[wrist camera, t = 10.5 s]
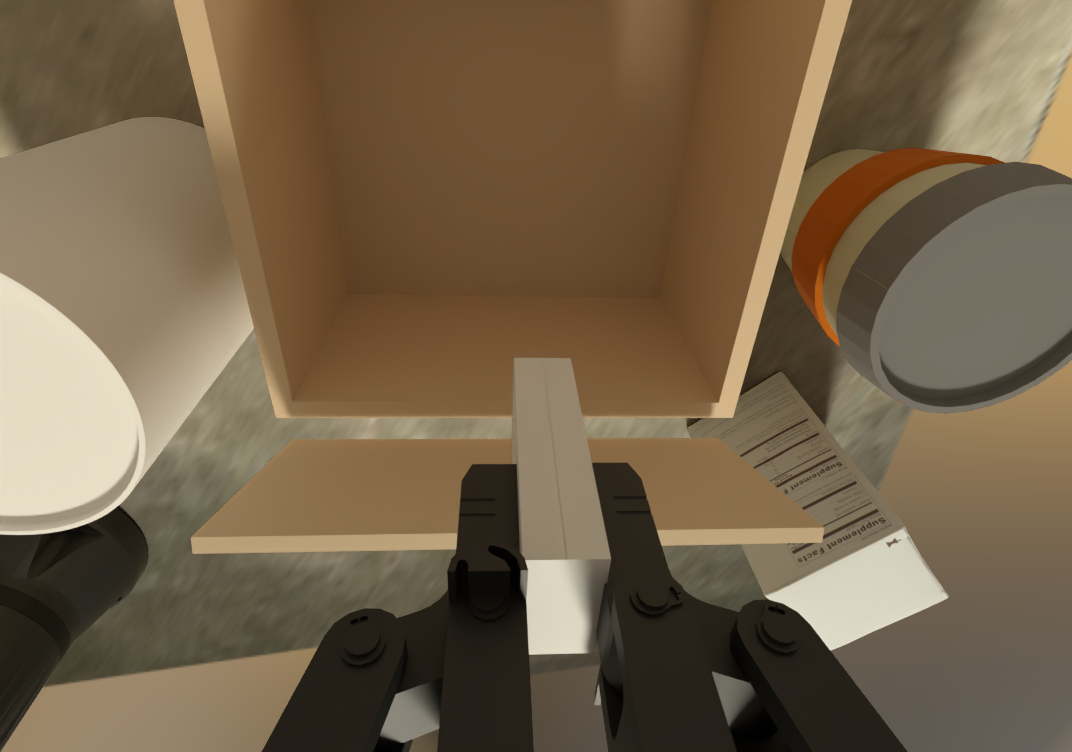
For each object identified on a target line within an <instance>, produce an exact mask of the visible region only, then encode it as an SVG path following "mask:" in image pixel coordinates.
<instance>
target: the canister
mask: <svg viewBox="0 0 1072 752" xmlns="http://www.w3.org/2000/svg"><path fill="white" fill-rule="evenodd" d="M253 329H254V326H253V322H252V318H251V314H250V310H249V306H248V302H247V298H246V294H245V290H244V285H243V281H242V277H241V273H240V269H239V265H238V261H237V257H236V253H235V249H234V245H233V241H232V237H231V233H230V228H229V224H228V220H227V216H226V212H225V208H224V204H223V200H222V196H221V192H220V188H219V184H218V180H217V176H216V172H215V167H214V163H213V159H212V155H211V151H210V147H209V143H208V139H207V135H206V131H205V128H203V127H200V126H197V125H195V124H192V123H189V122H185V121H181V120H177V119H171V118H164V117H139V118H133V119H128V120H124V121H121V122H118V123H114V124H111V125H108V126H104V127H101V128H98V129H95V130H91V131H88V132H85V133H81V134H78V135H75V136H72V137H68V138H65V139H62V140H59V141H55V142H52V143H49V144H45V145H42V146H39V147H36V148H32V149H29V150H26V151H22V152H19V153H16V154H13V155H9V156H6V157H3V158H0V534H2V535H34V534H45V533H53V532H59V531H64V530H68V529H72V528H76V527H79V526H82V525H85V524H88V523H90V522H93V521H95V520H97V519H99V518H101V517H103V516H104V515H106V514H108V513H109V512H111V511H112V510H114V509H115V508H116V507H117V506H119V505H120V504H121V503H122V502H123V501H124V500H125V499H126V498H127V497H128V495H129V494H130V493H131V492H132V490H133V489H134V488H135V486H136V485H137V484H138V482H139V481H140V480H141V478H142V477H143V476H144V474H145V473H146V472H147V470H148V469H149V468H150V466H151V465H152V464H153V462H154V461H155V460H156V458H157V457H158V456H159V454H160V453H161V452H162V450H163V449H164V447H165V446H166V445H167V443H168V442H169V441H170V439H171V438H172V437H173V435H174V434H175V433H176V431H177V430H178V429H179V427H180V426H181V425H182V423H183V422H184V421H185V419H186V418H187V417H188V415H189V414H190V413H191V411H192V410H193V409H194V407H195V406H196V405H197V403H198V402H199V401H200V399H201V398H202V397H203V395H204V394H205V393H206V391H207V390H208V389H209V387H210V386H211V385H212V383H213V382H214V381H215V379H216V378H217V377H218V375H219V374H220V373H221V371H222V370H223V369H224V367H225V366H226V365H227V363H228V362H229V361H230V359H231V358H232V357H233V355H234V354H235V353H236V351H237V350H238V349H239V347H240V346H241V345H242V343H243V342H244V341H245V339H246V338H247V337H248V335H249V334H250V333H251V331H252V330H253Z"/></svg>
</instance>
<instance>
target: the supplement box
mask: <svg viewBox="0 0 1072 752" xmlns="http://www.w3.org/2000/svg"><path fill="white" fill-rule="evenodd" d="M687 430H688V432H689V435H690V437H691V438H719V439H720V440H721V441H722V442H724V443H725V444H726V445H727V446H728V447H730V448H731V449H732V450H733V451H734V452H736V453H737V454H738V455H739V456H740V457H741V458H743V459H744V460H745V461H746V462H747V463H749V464H750V465H751V466H752V467H753V468H754V469H756V470H757V471H758V472H759V473H760V474H762V475H763V476H764V477H765V478H766V479H767V480H769V481H770V482H771V483H772V484H773V485H775V486H776V487H777V488H778V489H779V490H781V491H782V492H783V493H784V494H785V495H786V496H788V497H789V498H790V499H791V500H792V501H794V502H795V503H796V504H797V505H798V506H799V507H801V508H802V509H803V510H804V511H805V512H807V513H808V514H809V515H810V516H811V517H812V518H814V519H815V520H816V521H817V522H818V523H820V524H821V525H822V526H823V527H824V534H823V541H822V543H775V544H741V546H742V548H743V550H744V553H745V555H746V557H747V559H748V561H749V563H750V566H751V568H752V570H753V572H754V574H755V576H756V579H757V581H758V583H759V585H760V587H761V589H762V591H763V594H764V595H765V596H766V597H767V598H768V599H769V600H771V601H775V602H779V603H783V604H785V605H786V606H788V607H790V608H792V609H793V610H795V611H797V612H798V613H799V614H800V615H801V616H802V617H803V618H804V619H805V620H806V621H807V622H808V623H809V624H810V625H811V626H812V627H813V629H814V630H815V631H816V633H817V634H818V635H819V637H820V638H821V639H822V641H823V642H824V643H825V644H826V646H827V647H828V648H829V650H833V649H836V648H838V647H841V646H843V645H845V644H848V643H849V642H852V641H854V640H856V639H858V638H860V637H862V636H864V635H866V634H869V633H871V632H873V631H876V630H878V629H880V628H882V627H885V626H887V625H889V624H892V623H894V622H896V621H898V620H901V619H903V618H905V617H908V616H910V615H912V614H914V613H917V612H919V611H921V610H923V609H926V608H928V607H930V606H932V605H934V604H936V603H938V602H941V601H943V600H945V599H947V598H948V597H949V596H948V594H947V593H946V591H945V590H944V588H943V587H942V586H941V584H940V583H939V581H938V580H937V579H936V577H935V576H934V574H933V573H932V571H931V570H930V568H929V567H928V565H927V563H926V562H925V561H924V559H923V557H922V556H921V554H920V553H919V551H918V550H917V548H916V546H915V545H914V543H913V541H912V540H911V538H910V536H909V534H908V532H907V530H906V528H905V526H904V524H903V523H902V522H901V521H900V519H899V518H898V517H897V516H896V515H895V513H894V512H893V510H892V509H891V508H890V507H889V505H888V504H887V503H886V502H885V500H884V499H883V498H882V496H881V495H880V494H879V492H878V491H877V490H876V489H875V487H874V486H873V485H872V484H871V483H870V481H869V480H868V479H867V478H866V477H865V475H864V474H863V473H862V472H861V471H860V469H859V468H858V467H857V466H856V464H855V463H854V462H853V461H852V460H851V458H850V457H849V456H848V455H847V454H846V452H845V451H844V450H843V449H842V448H841V446H840V445H839V444H838V442H837V441H836V440H835V438H834V437H833V436H832V435H831V433H830V432H829V431H828V429H827V428H826V427H825V426H824V424H823V423H822V422H821V420H820V419H819V418H818V417H817V415H816V414H815V413H814V412H813V410H812V409H811V408H810V407H809V405H808V404H807V403H806V402H805V400H804V399H803V398H802V397H801V395H800V394H799V393H798V392H797V390H796V389H795V388H794V386H793V385H792V384H791V383H790V381H789V380H788V379H787V377H786V376H785V375H784V374H783V373H782V372H778V373H777V374H775V375H773V376H772V377H770V378H768V379H767V380H765V381H763V382H762V383H760V384H758V385H757V386H755V387H754V388H752V389H750V390H749V391H747V392H745V393H744V394H742V395H740V396H739V398H738V402H737V405H736V409H735V412H734V416H733V418H703V419H701V420H699V421H698V422H696V423H694V424H693V425H691V426H689V427H688V428H687Z"/></svg>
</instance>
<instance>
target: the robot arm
mask: <svg viewBox="0 0 1072 752" xmlns="http://www.w3.org/2000/svg"><path fill="white" fill-rule="evenodd" d="M147 562H148V548H147V544H146V541H145V539H144V537H143V535H142V533H141V532H140V530H139V529H138V528H137V526H136V525H135V524H134V523H133V522H132V521H131V520H130V519H129V518H128V517H127V516H126V515H125V514H124V513H123V512H121V511H120V510H119V509H117V508H115V509H114V510H112V511H111V512H109V513H108V514H106V515H104V516H103V517H101V518H99V519H97V520H95V521H93V522H90V523H88V524H85V525H82V526H79V527H76V528H72V529H68V530H64V531H59V532H53V533H45V534H34V535H2V534H0V752H1V750H2V749H3V747H4V746H5V744H6V743H7V741H8V740H9V738H10V737H11V735H12V733H13V732H14V731H15V729H16V727H17V726H18V724H19V723H20V721H21V720H22V718H23V717H24V715H25V714H26V712H27V711H28V709H29V707H30V706H31V705H32V703H33V702H34V700H35V698H36V697H37V695H38V694H39V692H40V691H41V689H42V688H43V686H44V685H45V683H46V682H47V680H48V679H49V677H50V676H51V674H52V672H53V671H54V669H55V668H56V666H57V665H58V663H59V662H60V660H61V659H62V657H63V656H64V654H65V653H66V651H67V650H68V648H69V647H70V645H71V644H72V643H73V641H74V640H75V639H76V638H78V637H79V636H80V635H81V634H82V633H83V632H84V631H85V630H87V629H88V628H89V627H90V626H91V625H92V624H93V623H94V622H95V621H96V620H97V619H98V618H99V617H101V616H102V615H103V614H104V613H105V612H106V611H107V610H108V609H109V608H111V607H112V606H114V605H116V604H117V603H119V602H120V601H121V600H122V599H124V598H125V597H126V596H127V595H128V594H129V592H130V591H131V590H132V589H133V587H134V586H135V584H136V583H137V581H138V579H139V578H140V576H141V575H142V573H143V571H144V570H145V568H146V565H147ZM447 573H448V591H447V592H446V593H445V594H444V595H443V596H442V598H441V599H440V600H438V601H437V602H435V603H434V604H433V605H431V606H430V607H427V608H425V609H423V610H420V611H418V612H415V613H412V614H409V615H406V616H403V617H399V618H396V617H395V616H394V615H393V614H391V613H389V612H386V611H384V610H382V609H362V610H358V611H355V612H352V613H349V614H347V615H346V616H344V617H343V618H341V619H340V620H339V621H337V622H336V623H334V625H333V626H332V627H331V628H330V630H329V631H328V632H327V634H326V635H325V636H324V638H323V640H322V642H321V643H320V645H319V647H318V649H317V651H316V653H315V654H314V656H313V658H312V660H311V662H310V664H309V666H308V667H307V669H306V671H305V673H304V675H303V677H302V678H301V681H300V682H299V684H298V686H297V688H296V690H295V691H294V693H293V695H292V697H291V699H290V701H289V702H288V705H287V706H286V708H285V710H284V712H283V713H282V715H281V717H280V719H279V721H278V723H277V725H276V726H275V728H274V730H273V732H272V734H271V736H270V737H269V739H268V741H267V743H266V745H265V747H264V749H263V750H262V752H409V750H410V747H411V744H412V741H413V739H414V738H416V737H419V736H421V735H424V734H426V733H429V732H431V731H434V730H436V729H439V737H438V749H437V752H534V749H533V729H532V710H531V709H532V708H531V688H530V667H529V654H569V653H595V649H596V643H597V641H598V647H599V654H600V660H601V664H600V669H599V674H598V680H597V685H596V691H595V704H594V705H600V702H601V704H602V711H603V718H604V725H605V732H606V739H607V746H608V752H907V751H906V749H905V748H904V747H903V745H902V744H901V743H900V741H899V740H898V739H897V737H896V736H895V735H894V734H893V732H892V731H891V730H890V728H889V727H888V726H887V724H886V723H885V722H884V720H883V719H882V718H881V716H880V715H879V714H878V713H877V711H876V710H875V709H874V707H873V706H872V705H871V703H870V702H869V701H868V699H867V698H866V697H865V696H864V694H863V693H862V692H861V690H860V689H859V688H858V687H857V685H856V684H855V683H854V681H853V680H852V679H851V677H850V676H849V675H848V673H847V672H846V671H845V670H844V668H843V667H842V666H841V664H840V663H839V661H838V660H837V659H836V658H835V656H834V655H833V654H832V652H831V651H830V650H829V648H828V647H827V646H826V644H825V643H824V642H823V641H822V639H821V638H820V637H819V635H818V634H817V633H816V631H815V630H814V629H813V627H812V626H811V625H810V624H809V623H808V622H807V621H806V620H805V619H804V618H803V617H802V616H801V615H800V614H799V613H798V612H797V611H795V610H793V609H792V608H790V607H788V606H786V605H785V604H783V603H779V602H775V601H771V600H754V601H752V602H750V603H748V604H746V605H744V606H743V607H742V609H741V611H740V612H736V611H733V610H729V609H725V608H722V607H718V606H715V605H711V604H708V603H705V602H703V601H700V600H698V599H696V598H694V597H693V596H691V595H689V594H688V593H687V592H685V591H684V589H683V587H682V586H681V585H680V584H679V583H678V582H677V581H676V580H674V579H673V577H672V575H671V573H670V571H669V569H668V566H667V562H666V559H665V556H664V552H663V549H662V546H661V542H660V539H659V536H658V532H657V529H656V526H655V522H654V519H653V516H652V515H651V509H650V506H649V502H648V500H647V496H646V492H645V489H644V486H643V482H642V479H641V477H640V476H639V475H638V474H637V473H636V472H635V470H634V469H633V468H632V467H631V466H630V465H629V464H628V463H592V462H591V457H590V452H589V447H588V442H587V437H586V432H585V427H584V422H583V417H582V412H581V407H580V402H579V397H578V392H577V387H576V383H575V378H574V373H573V368H572V363H571V358H514V375H513V409H512V464H472V465H471V467H470V468H469V470H468V471H467V473H466V474H465V476H464V478H463V479H462V483H461V495H460V508H459V521H458V533H457V546H456V555H455V556H454V557H453V558H452V559H451V562H450V565H449V568H448V571H447Z"/></svg>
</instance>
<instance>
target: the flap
mask: <svg viewBox="0 0 1072 752" xmlns="http://www.w3.org/2000/svg"><path fill="white" fill-rule="evenodd" d="M587 442H588V447H589V452H590V457H591V462H592V463H628V464H629V465H630V466H631V467H632V468H633V469H634V470H635V472H636V473H637V474H638V475H639V476H640V477H641V479H642V482H643V486H644V489H645V492H646V496H647V500H648V502H649V506H650V509H651V515H652V516H653V519H654V522H655V526H656V529H657V532H658V536H659V539H660V542H661V546H662V545H718V544H775V543H822V541H823V534H824V527H823V526H822V525H821V524H820V523H818V522H817V521H816V520H815V519H814V518H812V517H811V516H810V515H809V514H808V513H807V512H805V511H804V510H803V509H802V508H801V507H799V506H798V505H797V504H796V503H795V502H794V501H792V500H791V499H790V498H789V497H788V496H786V495H785V494H784V493H783V492H782V491H781V490H779V489H778V488H777V487H776V486H775V485H773V484H772V483H771V482H770V481H769V480H767V479H766V478H765V477H764V476H763V475H762V474H760V473H759V472H758V471H757V470H756V469H754V468H753V467H752V466H751V465H750V464H749V463H747V462H746V461H745V460H744V459H743V458H741V457H740V456H739V455H738V454H737V453H736V452H734V451H733V450H732V449H731V448H730V447H728V446H727V445H726V444H725V443H724V442H722V441H721V440H720V439H719V438H616V439H587ZM472 464H512V439H293V440H292V441H291V442H289V443H288V444H287V445H286V446H285V447H284V448H283V449H282V450H281V451H280V452H279V453H278V454H277V455H276V456H275V457H274V458H273V459H272V460H271V461H270V462H269V463H268V464H267V465H266V466H265V467H264V468H262V469H261V470H260V471H259V472H258V473H257V474H256V475H255V476H254V477H253V478H252V479H251V480H250V481H249V482H248V483H247V484H246V485H245V486H244V487H243V488H242V489H241V490H240V491H239V492H238V493H236V494H235V495H234V496H233V497H232V498H231V499H230V500H229V501H228V502H227V503H226V504H225V505H224V506H223V507H222V508H221V509H220V510H219V511H218V512H217V513H216V514H215V515H214V516H213V517H212V518H210V519H209V520H208V521H207V522H206V523H205V524H204V525H203V526H202V527H201V528H200V529H199V530H198V531H197V532H196V533H195V534H194V535H193V536H192V537H191V543H192V552H193V554H210V553H266V552H323V551H379V550H436V549H456V546H457V533H458V521H459V508H460V495H461V483H462V479H463V478H464V476H465V474H466V473H467V471H468V470H469V468H470V467H471V465H472Z"/></svg>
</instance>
